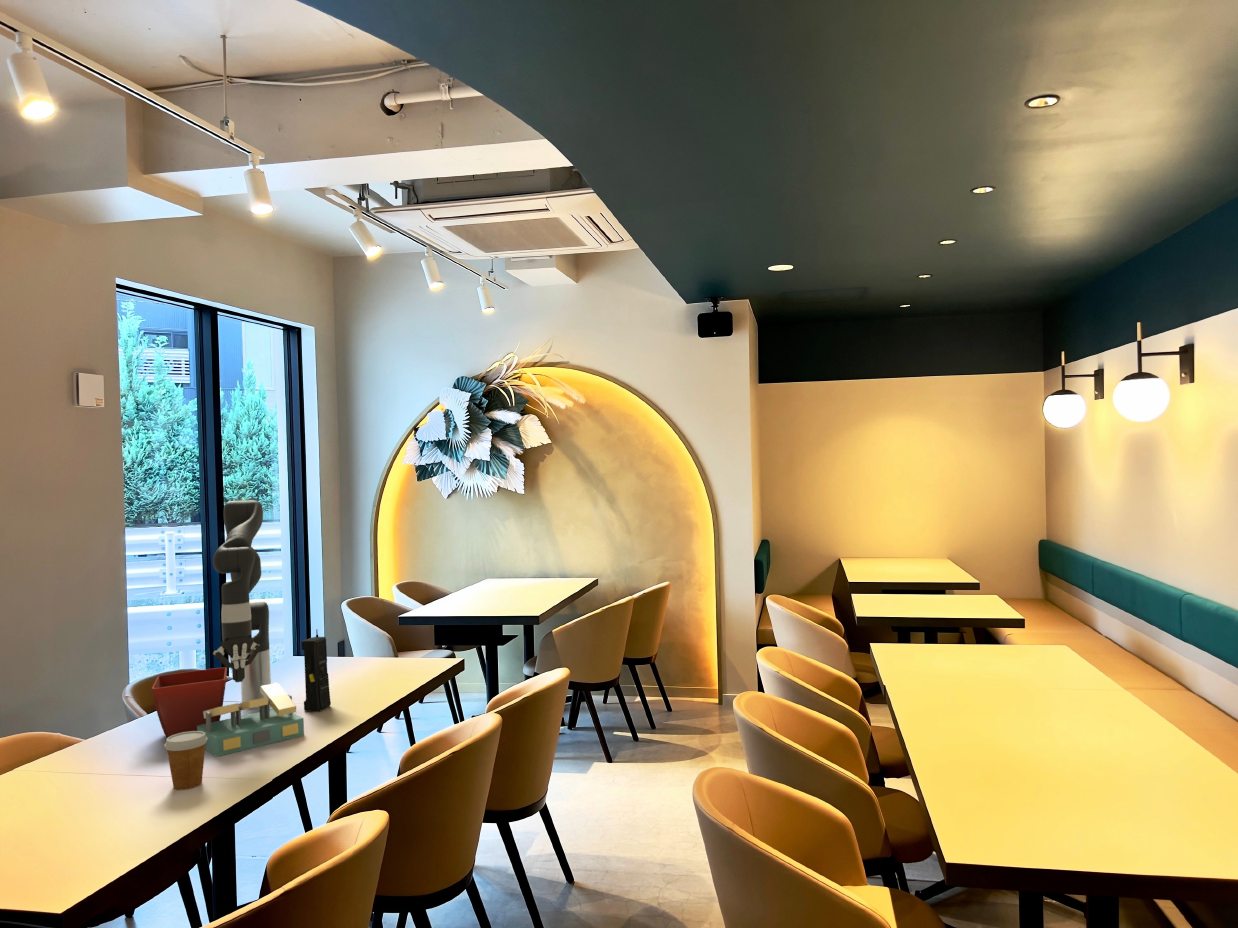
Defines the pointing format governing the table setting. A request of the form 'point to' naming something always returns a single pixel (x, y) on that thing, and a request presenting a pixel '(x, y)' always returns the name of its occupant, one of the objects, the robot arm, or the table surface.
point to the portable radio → (316, 674)
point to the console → (250, 730)
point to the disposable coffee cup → (186, 758)
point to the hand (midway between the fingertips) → (238, 681)
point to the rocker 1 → (222, 710)
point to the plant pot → (188, 698)
